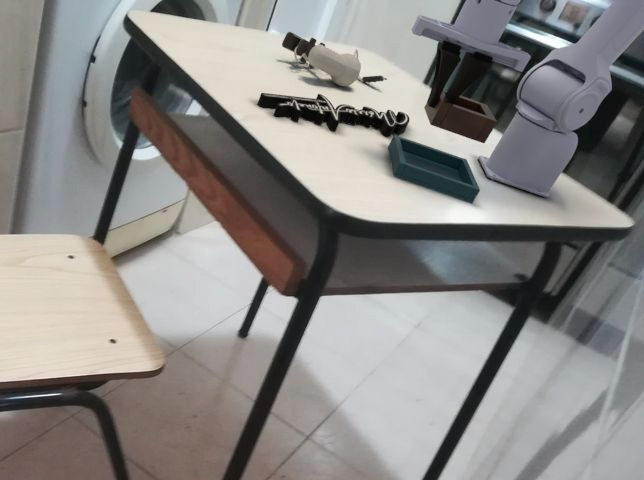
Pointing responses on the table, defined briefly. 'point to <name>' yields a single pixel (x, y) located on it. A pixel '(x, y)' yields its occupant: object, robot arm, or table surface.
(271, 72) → the table surface
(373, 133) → the table surface
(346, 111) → the nameplate
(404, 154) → the holder
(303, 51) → the clip-on lamp
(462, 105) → the frame
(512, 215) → the table surface
